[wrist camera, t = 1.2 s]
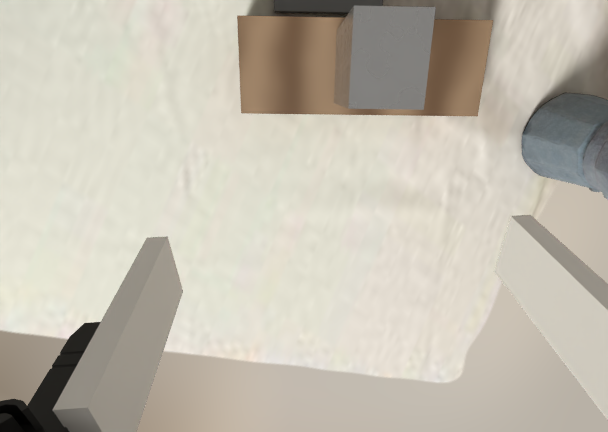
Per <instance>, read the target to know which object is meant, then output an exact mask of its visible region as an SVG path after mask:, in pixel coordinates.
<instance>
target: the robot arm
mask: <svg viewBox="0 0 608 432" xmlns="http://www.w3.org/2000/svg"><path fill="white" fill-rule="evenodd" d="M494 272H495V273H496V275H497V276H498V277H499V279H500V280H501V281H502V282H503V284H504V285H505V286H506V288H507V289H508V290H509V292H510V293H511V294H512V296H513V297H514V298H515V299H516V301H517V302H518V303H519V305H520V306H521V307H522V309H523V310H524V311H525V313H526V314H527V315H528V316H529V318H530V319H531V320H532V322H533V323H534V324H535V326H536V327H537V328H538V329H539V331H540V332H541V333H542V335H543V336H544V338H545V339H546V340H547V341H548V343H549V344H550V345H551V347H552V348H553V349H554V351H555V352H556V353H557V354H558V356H559V357H560V358H561V360H562V361H563V362H564V364H565V365H566V366H567V368H568V369H569V370H570V372H571V373H572V374H573V375H574V377H575V378H576V379H577V381H578V382H579V383H580V384H581V386H582V387H583V389H584V390H585V391H586V392H587V394H588V395H589V396H590V398H591V399H592V400H593V402H594V403H595V404H596V406H597V407H598V408H599V410H600V411H601V412H602V414H603V415H604V416H605V417H606V419H607V420H608V284H607V283H606V282H605V281H604V280H603V279H602V278H601V277H599V276H598V275H597V274H596V273H595V272H594V271H593V270H591V269H590V268H589V267H588V266H587V265H586V264H585V263H584V262H583V261H581V260H580V259H579V258H578V257H577V256H576V255H575V254H574V253H572V252H571V251H570V250H569V249H568V248H567V247H566V246H565V245H564V244H562V243H561V242H560V241H559V240H558V239H557V238H555V236H553V235H552V234H551V233H550V232H549V231H548V230H547V229H545V227H543V226H542V225H541V224H540V223H539V222H538V221H537V220H536V219H534V218H533V217H532V216H531V215H521V216H511V217H510V221H509V224H508V227H507V231H506V234H505V237H504V240H503V244H502V247H501V250H500V253H499V257H498V260H497V263H496V267H495V270H494ZM182 293H183V290H182V286H181V283H180V279H179V275H178V272H177V268H176V265H175V261H174V258H173V254H172V251H171V247H170V244H169V240H168V237H153V238H147V239H146V241H145V242H144V244H143V246H142V248H141V250H140V251H139V253H138V255H137V257H136V259H135V261H134V262H133V264H132V266H131V268H130V270H129V272H128V273H127V275H126V277H125V279H124V281H123V282H122V284H121V286H120V288H119V290H118V292H117V293H116V295H115V297H114V299H113V301H112V302H111V304H110V306H109V308H108V310H107V312H106V313H105V315H104V317H103V319H102V321H101V322H94V323H84V324H83V325H82V326H81V327H80V328H79V329H78V330H77V331H76V332H75V333H74V334H72V335H71V336H70V337H69V339H68V341H67V342H66V344H65V346H64V347H63V349H62V350H61V352H60V356H58V357H57V359H56V360H55V362H54V364H53V365H52V369H50V370H49V372H48V373H47V375H46V377H45V378H44V380H43V381H42V383H41V385H40V386H39V388H38V389H37V391H36V393H35V395H34V396H33V398H32V399H31V401H30V403H29V404H28V406H27V405H26V404H25V403H24V402H23V401H21V400H16V399H10V400H4V401H0V432H137V428H138V425H139V423H140V420H141V417H142V414H143V410H144V408H145V405H146V402H147V398H148V395H149V392H150V389H151V386H152V383H153V380H154V377H155V374H156V371H157V368H158V365H159V362H160V359H161V356H162V353H163V350H164V347H165V344H166V341H167V338H168V335H169V332H170V329H171V326H172V323H173V320H174V317H175V314H176V311H177V308H178V305H179V302H180V299H181V296H182Z"/></svg>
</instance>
